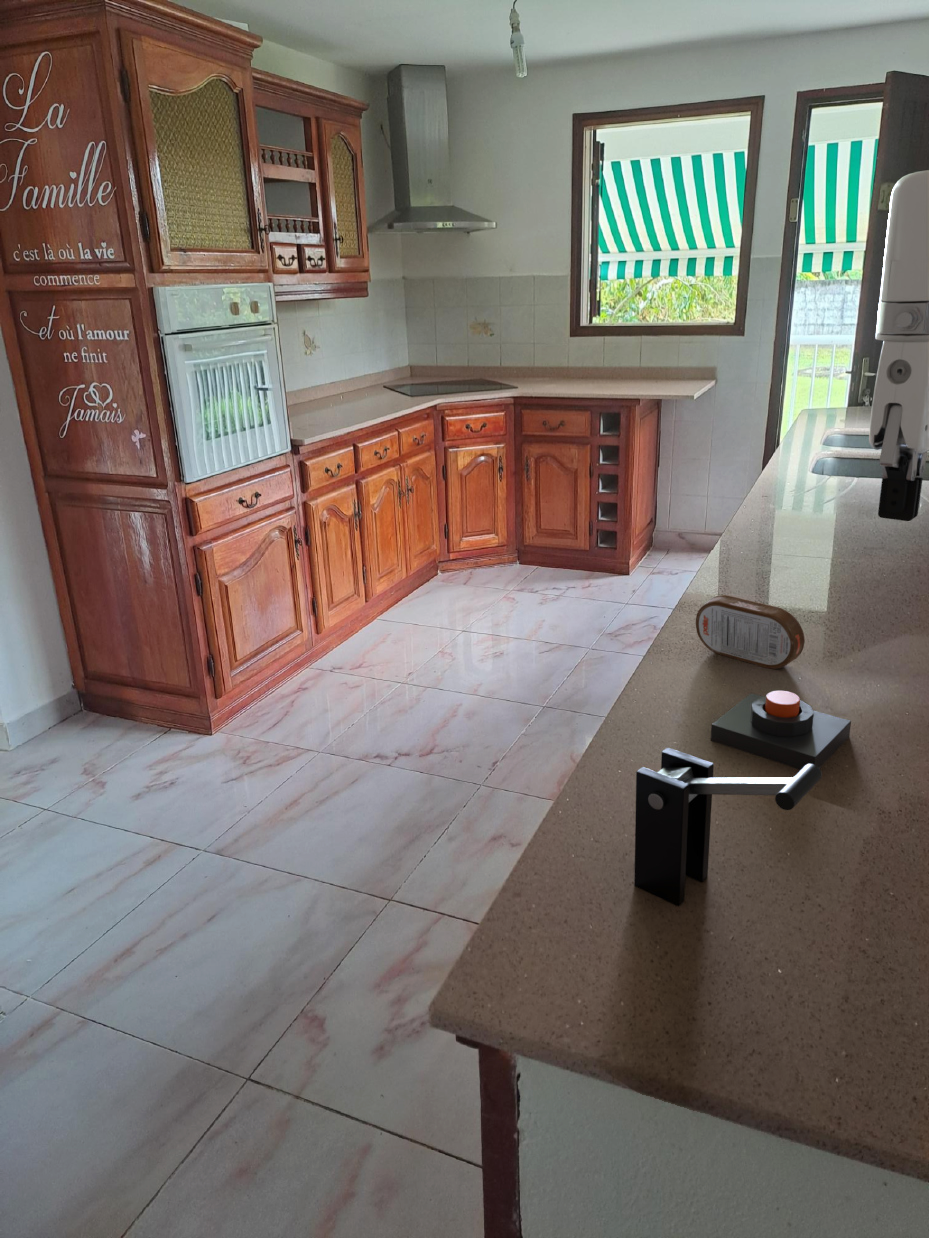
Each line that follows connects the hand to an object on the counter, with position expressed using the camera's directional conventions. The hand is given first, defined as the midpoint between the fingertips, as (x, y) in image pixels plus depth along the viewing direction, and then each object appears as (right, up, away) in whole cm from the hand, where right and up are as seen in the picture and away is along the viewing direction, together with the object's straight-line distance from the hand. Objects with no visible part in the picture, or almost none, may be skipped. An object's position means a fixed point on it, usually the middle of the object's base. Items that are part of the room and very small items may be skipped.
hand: (897, 517), depth 86 cm
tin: (-4, -16, +35) cm, 39 cm away
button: (-7, -20, +13) cm, 25 cm away
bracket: (-24, -34, -9) cm, 43 cm away
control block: (-6, -24, +14) cm, 29 cm away
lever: (-21, -24, -17) cm, 36 cm away
